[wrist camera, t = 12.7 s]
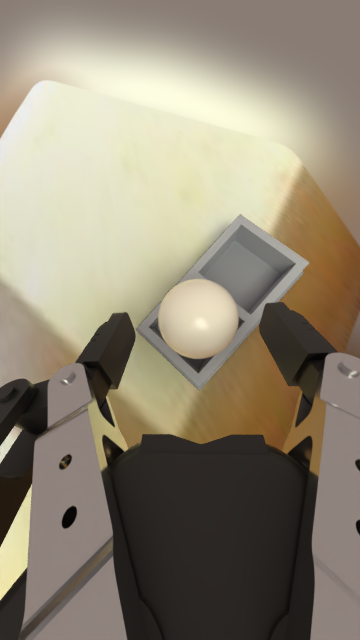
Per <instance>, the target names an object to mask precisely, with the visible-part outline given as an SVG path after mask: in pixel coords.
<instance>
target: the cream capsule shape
mask: <svg viewBox="0 0 360 640" xmlns="http://www.w3.org/2000/svg"><path fill="white" fill-rule="evenodd" d="M238 322H239V315H238V309H237V306H236V303H235V301H234V299H233V298H232V296H231V295H230V294H229V292H228V291H227V290H226V289H225V288H223V287H222V286H221V285H219V284H217V283H215V282H213V281H210V280H206V279H191V280H187V281H184V282H181V283H179V284H178V285H176V286H175V287H173V288H172V289H171V290H170V291H169V292H168V293H167V294H166V296H165V297H164V299H163V301H162V303H161V305H160V308H159V313H158V325H159V329H160V332H161V335H162V337H163V339H164V340H165V342H166V343H167V344H168V346H169V347H170V348H171V349H173V350H174V351H175V352H177V353H178V354H180V355H182V356H185V357H188V358H193V359H203V358H208V357H212V356H214V355H216V354H218V353H220V352H221V351H223V350H224V349H225V348H226V347H227V346H228V345H229V344H230V343H231V341H232V340H233V338H234V336H235V334H236V332H237V328H238Z"/></svg>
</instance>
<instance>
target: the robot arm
mask: <svg viewBox="0 0 360 640" xmlns="http://www.w3.org/2000/svg"><path fill="white" fill-rule="evenodd" d="M259 330H260V334H261V336H262V338H263V340H264V342H265V344H266V345H267V347H268V349H269V351H270V353H271V355H272V357H273V358H274V360H275V362H276V364H277V366H278V368H279V370H280V371H281V373H282V375H283V377H284V379H285V381H286V383H287V384H288V386H299V387H300V389H301V390H302V391H301V392H300V394H299V397H298V402H297V406H296V410H295V414H294V418H293V422H292V426H291V430H290V433H289V435H288V437H287V439H286V441H285V444H284V447H283V450H282V451H281V450H279V449H277V448H275V447H273V446H270V445H268V444H266V443H265V440H264V437H263V435H229V436H226V437H223V438H220V439H217V440H214V441H211V442H208V443H205V444H198V443H195V442H192V441H189V440H186V439H183V438H180V437H177V436H174V435H171V434H143V435H142V441H141V443H139V444H137V445H135V446H132V447H131V448H129V449H128V447H127V444H126V442H125V440H124V438H123V436H122V434H121V433H120V431H119V428H118V425H117V422H116V419H115V416H114V413H113V410H112V407H111V404H110V401H109V398H108V396H107V393H108V391H109V389H118V386H119V384H120V381H121V378H122V375H123V373H124V370H125V367H126V364H127V361H128V359H129V356H130V353H131V350H132V347H133V345H134V342H135V331H134V328H133V325H132V323H131V320H130V317H129V315H128V313H126V312H124V313H113V314H112V316H111V317H110V319H109V320H108V322H105V323H104V324H103V325H101V326H100V327H99V328H98V329H97V331H96V332H95V334H94V336H93V337H92V338H91V341H89V343H88V344H87V346H86V347H85V349H84V350H83V352H82V353H81V355H80V356H79V358H78V359H77V361H76V362H75V363H73V364H69V365H67V366H65V367H63V368H61V369H60V370H58V371H57V372H56V373H55V374H54V375H53V376H52V377H51V379H50V380H47V381H43V382H40V383H37V384H34V385H33V384H32V383H30V382H29V381H28V380H26V379H17V380H14V381H11V382H9V383H7V384H6V385H4V386H2V387H1V388H0V446H1V444H2V443H3V441H4V440H5V439H6V437H7V436H8V434H9V433H10V431H11V430H12V429H13V427H14V426H16V427H18V428H20V429H22V432H21V433H20V435H19V436H18V438H17V439H16V441H15V442H14V444H13V445H12V447H11V448H10V450H9V451H8V453H7V454H6V456H5V457H4V459H3V460H2V462H1V464H0V546H1V544H2V542H3V540H4V538H5V536H6V534H7V532H8V530H9V528H10V526H11V524H12V522H13V520H14V518H15V516H16V514H17V512H18V510H19V508H20V506H21V504H22V502H23V500H24V498H25V496H26V494H27V492H28V490H29V488H30V486H31V484H32V497H31V514H30V531H29V549H28V566H27V568H26V569H25V571H24V572H23V573H22V574H21V576H20V577H19V578H18V579H17V581H16V582H15V583H14V584H13V585H12V587H11V588H10V589H9V590H8V592H7V593H6V594H5V595H4V597H3V598H2V599H1V600H0V640H360V359H358V358H356V357H354V356H351V355H348V354H344V353H338V352H337V351H336V349H335V348H334V347H333V346H332V345H331V344H330V343H329V342H328V341H327V340H326V339H325V338H324V337H323V336H322V335H321V334H320V333H319V332H318V331H317V330H315V328H314V327H313V326H312V325H311V324H309V322H308V321H307V320H306V319H305V318H304V317H303V316H302V315H300V314H299V313H297V312H295V311H293V310H290V309H289V308H288V307H287V306H286V305H285V304H284V303H283V302H274V303H266V304H265V306H264V310H263V313H262V317H261V321H260V325H259Z"/></svg>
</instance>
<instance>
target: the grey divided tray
mask: <svg viewBox="0 0 360 640" xmlns="http://www.w3.org/2000/svg"><path fill="white" fill-rule="evenodd" d="M308 264H309V262H308V261H307V260H305V259H304V258H302V257H301V256H299V255H298V254H297V253H295V252H294V251H292V250H291V249H289V248H288V247H287V246H285V245H284V244H282V243H281V242H279V241H278V240H276V239H275V238H274V237H272V236H271V235H269V234H268V233H266V232H265V231H264V230H262V229H261V228H259V227H258V226H256V225H255V224H253V223H252V222H251V221H249V220H248V219H246V218H245V217H243V216H242V215H241V214H240V215H239V216H238V217H237V218H236V219H235V220H234V222H233V223H232V224H231V225H230V226H229V227H228V228H227V229H226V230H225V231H224V233H223V234H222V235H221V236H220V237H219V238H218V239H217V240H216V241H215V243H214V244H213V245H212V246H211V247H210V248H209V249H208V250H207V251H206V252H205V254H204V255H203V256H202V257H201V258H200V259H199V260H198V261H197V262H196V263H195V265H194V266H193V267H192V268H191V269H190V270H189V271H188V272H187V273H186V274H185V276H184V277H183V278H182V279H181V280H180V281H179V282H178V283H177V284H176V285H178V284H179V283H181V282H184V281H187V280H191V279H206V280H210V281H213V282H215V283H217V284H219V285H221V286H222V287H223V288H225V289H226V290H227V291H228V292H229V294H230V295H231V296H232V298H233V299H234V301H235V303H236V306H237V309H238V315H239V322H238V328H237V332H236V334H235V336H234V338H233V340H232V341H231V343H230V344H229V345H228V346H227V347H226V348H225V349H224V350H223V351H221V352H220V353H218V354H216V355H214V356H212V357H208V358H203V359H193V358H188V357H185V356H182V355H180V354H178V353H177V352H175V351H174V350H173V349H171V348H170V347H169V346H168V344H167V343H166V342H165V340H164V339H163V337H162V335H161V332H160V329H159V325H158V313H159V308H160V305H161V303H162V301H163V300H162V301H161V302H160V303H159V304H158V305H157V306H156V308H155V309H154V310H153V311H152V312H151V313H150V314H149V315H148V316H147V318H146V319H145V320H144V321H143V322H142V323H141V324H140V325H139V326H138V327H137V329H136V330H137V331H138V332H139V333H140V334H141V335H142V336H143V337H144V338H145V339H146V340H147V341H148V342H149V343H150V344H151V345H152V346H153V347H154V348H155V349H156V350H157V351H158V352H160V353H161V354H162V355H163V356H164V357H165V358H166V359H167V360H168V361H169V362H170V363H171V364H172V365H173V366H174V367H175V368H176V369H177V370H178V371H179V372H180V373H181V374H182V375H183V376H184V377H185V378H186V379H188V380H189V381H190V382H191V383H192V384H193V385H194V386H195V387H196V388H197V389H198V390H199V391H200V390H201V389H202V387H203V386H204V385H205V384H206V383H207V382H208V381H209V379H210V378H211V377H212V376H213V375H214V374H215V373H216V372H217V370H218V369H219V368H220V367H221V366H222V365H223V364H224V363H225V361H226V360H227V359H228V358H229V357H230V356H231V355H232V354H233V352H234V351H235V350H236V349H237V348H238V347H239V346H240V345H241V343H242V342H243V341H244V340H245V339H246V338H247V337H248V335H249V334H250V333H251V332H252V331H253V330H254V329H255V328H256V326H257V325H258V324H259V323H260V321H261V317H262V313H263V310H264V306H265V304H266V303H274V302H279V300H280V299H281V298H282V297H283V296H284V295H285V294H286V293H287V291H288V290H289V289H290V288H291V287H292V286H293V285H294V284H295V282H296V281H297V280H298V279H299V278H300V277H301V276H302V275H303V273H304V272H302V270H303V269H304V268H305V267H306V266H307V265H308Z"/></svg>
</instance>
